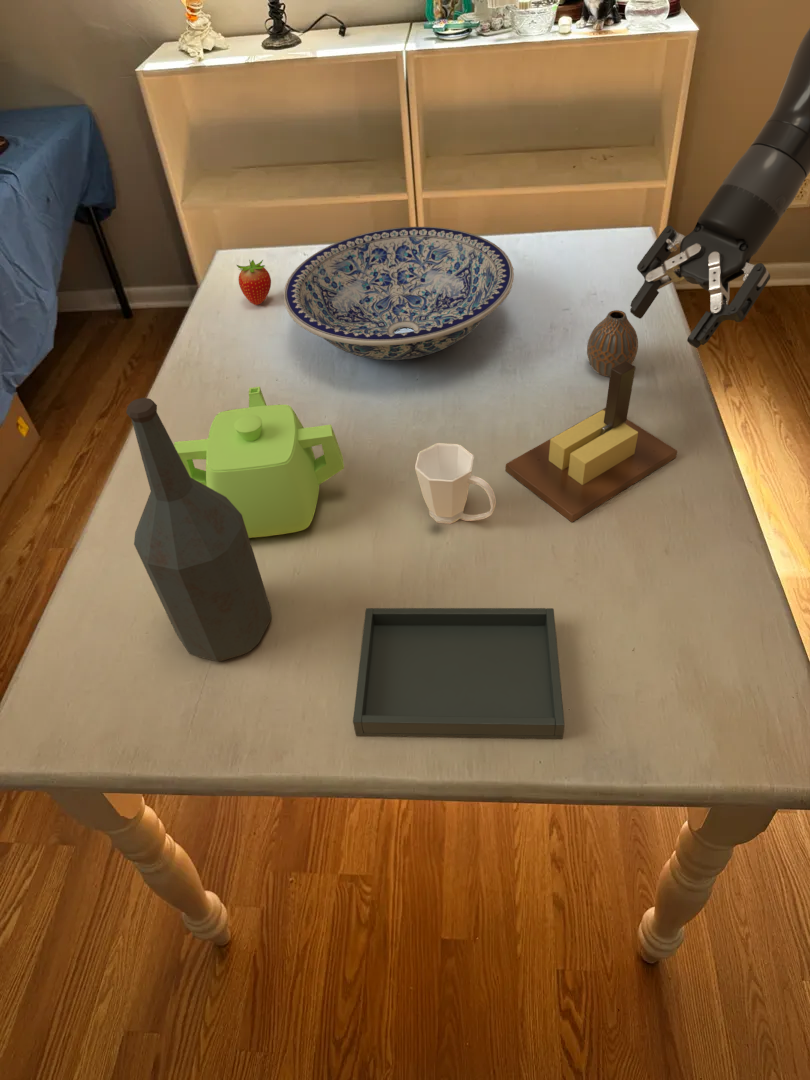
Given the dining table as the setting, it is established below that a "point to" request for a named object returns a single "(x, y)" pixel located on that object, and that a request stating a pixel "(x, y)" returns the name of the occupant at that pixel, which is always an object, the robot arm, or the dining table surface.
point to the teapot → (265, 464)
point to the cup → (449, 482)
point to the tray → (459, 673)
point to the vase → (612, 343)
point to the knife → (618, 395)
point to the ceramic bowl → (399, 290)
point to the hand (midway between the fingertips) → (662, 329)
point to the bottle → (196, 551)
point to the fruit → (254, 282)
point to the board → (584, 498)
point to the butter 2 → (602, 453)
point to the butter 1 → (575, 439)
